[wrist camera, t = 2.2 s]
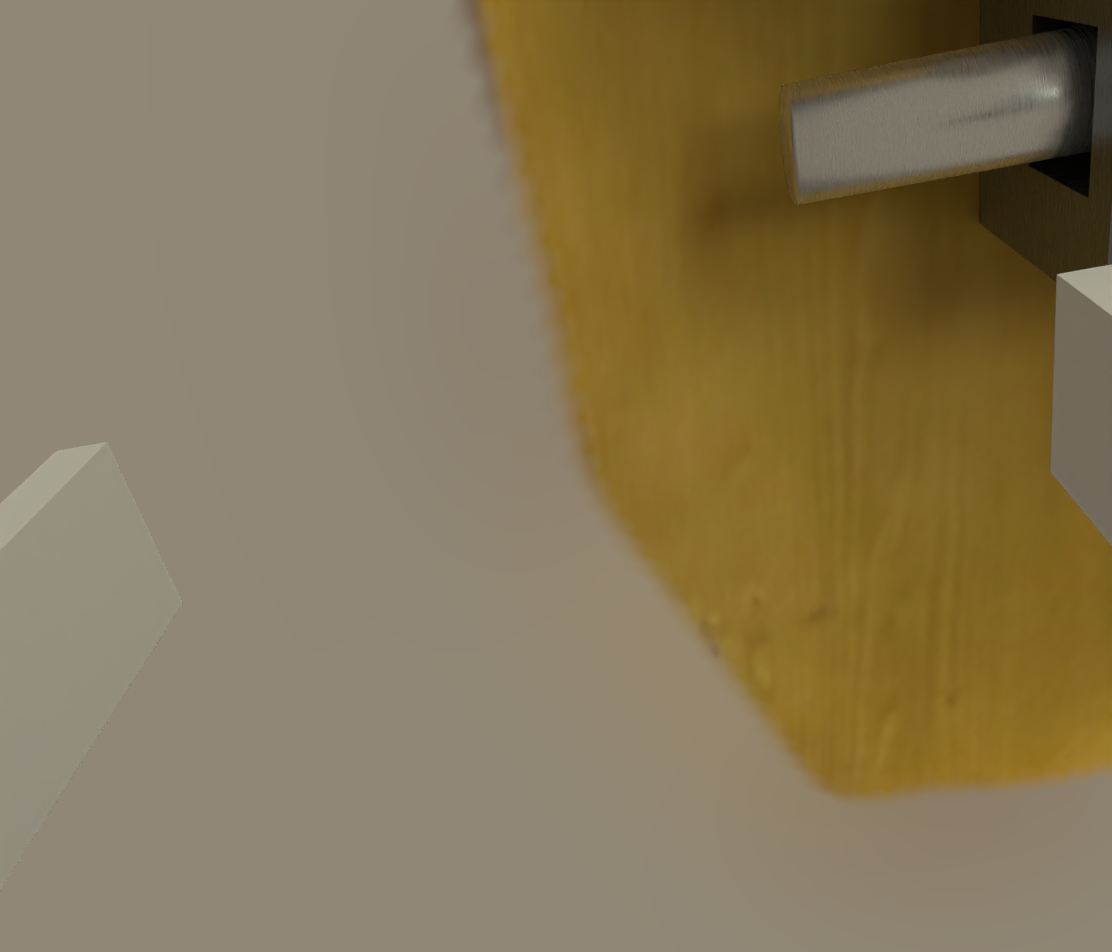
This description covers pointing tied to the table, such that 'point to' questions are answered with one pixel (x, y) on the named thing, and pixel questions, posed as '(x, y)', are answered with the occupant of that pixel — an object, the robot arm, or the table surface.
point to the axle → (939, 115)
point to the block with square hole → (1059, 183)
